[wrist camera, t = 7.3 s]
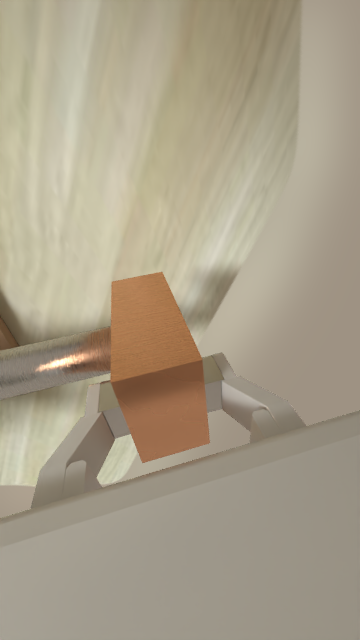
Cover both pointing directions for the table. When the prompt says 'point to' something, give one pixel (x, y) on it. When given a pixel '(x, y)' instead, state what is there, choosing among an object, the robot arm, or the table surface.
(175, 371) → the shaft
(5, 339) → the block
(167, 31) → the table surface
